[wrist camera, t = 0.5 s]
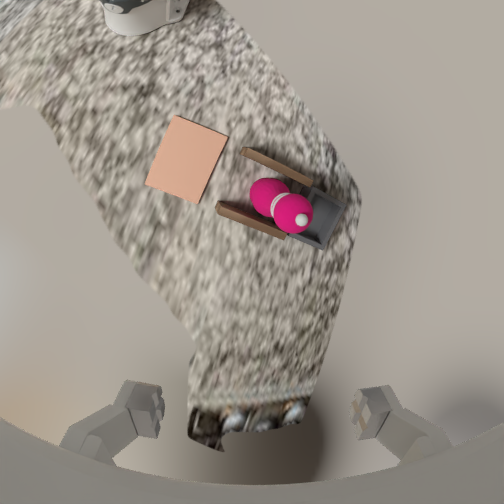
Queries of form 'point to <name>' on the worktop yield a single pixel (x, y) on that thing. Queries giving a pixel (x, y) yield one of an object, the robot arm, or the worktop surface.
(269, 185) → the pepper mill
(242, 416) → the worktop surface
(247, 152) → the walnut channel
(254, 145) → the worktop surface
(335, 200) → the box
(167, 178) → the terracotta board
